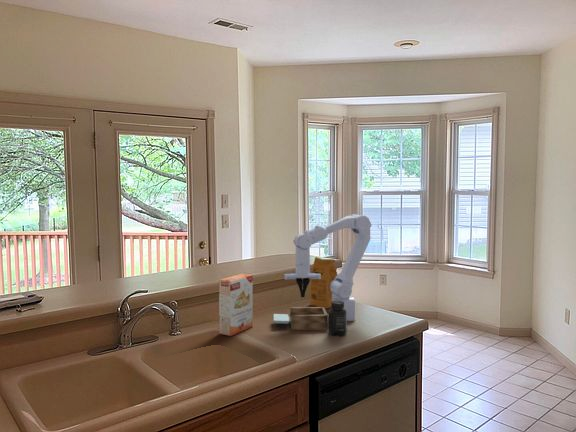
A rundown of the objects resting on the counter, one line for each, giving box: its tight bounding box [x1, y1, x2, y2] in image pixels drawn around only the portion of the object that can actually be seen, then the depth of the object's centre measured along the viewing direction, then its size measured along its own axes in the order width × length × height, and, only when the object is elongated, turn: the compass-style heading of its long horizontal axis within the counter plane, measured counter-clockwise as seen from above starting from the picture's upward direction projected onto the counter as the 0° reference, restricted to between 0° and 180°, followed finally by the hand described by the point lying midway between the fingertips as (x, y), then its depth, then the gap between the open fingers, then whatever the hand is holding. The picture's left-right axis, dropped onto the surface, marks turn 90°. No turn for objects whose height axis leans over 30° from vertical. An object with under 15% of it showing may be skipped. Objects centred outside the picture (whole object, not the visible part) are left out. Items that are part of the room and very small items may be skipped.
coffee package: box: [308, 256, 339, 310], centre depth 219 cm, size 10×12×22 cm
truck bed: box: [289, 306, 328, 331], centre depth 191 cm, size 14×12×6 cm
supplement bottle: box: [327, 301, 348, 337], centre depth 180 cm, size 7×7×12 cm
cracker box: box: [218, 273, 254, 337], centre depth 183 cm, size 14×6×21 cm, turn 148°
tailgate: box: [273, 313, 291, 325], centre depth 190 cm, size 1×9×6 cm
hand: (302, 296), depth 194 cm, fingers closed
